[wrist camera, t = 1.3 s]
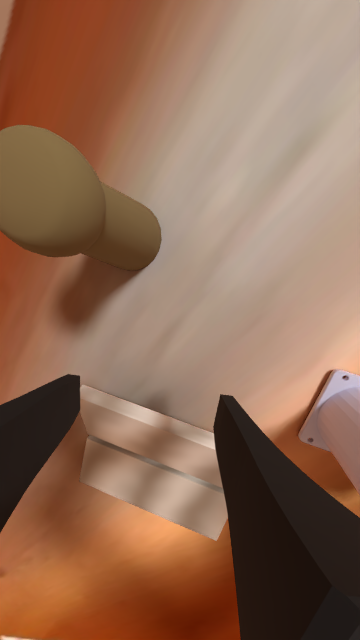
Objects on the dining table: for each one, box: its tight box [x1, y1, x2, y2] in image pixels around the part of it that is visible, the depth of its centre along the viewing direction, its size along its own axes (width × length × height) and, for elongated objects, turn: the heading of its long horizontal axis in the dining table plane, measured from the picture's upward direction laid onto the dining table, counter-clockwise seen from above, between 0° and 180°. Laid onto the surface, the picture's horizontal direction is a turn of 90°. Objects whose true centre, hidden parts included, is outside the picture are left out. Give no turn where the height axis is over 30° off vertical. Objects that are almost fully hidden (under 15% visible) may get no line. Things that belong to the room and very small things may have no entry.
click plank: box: [80, 385, 223, 488], centre depth 19 cm, size 18×9×1 cm, turn 74°
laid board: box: [79, 435, 228, 541], centre depth 23 cm, size 18×8×1 cm, turn 74°
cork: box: [0, 125, 161, 271], centre depth 13 cm, size 6×6×11 cm
